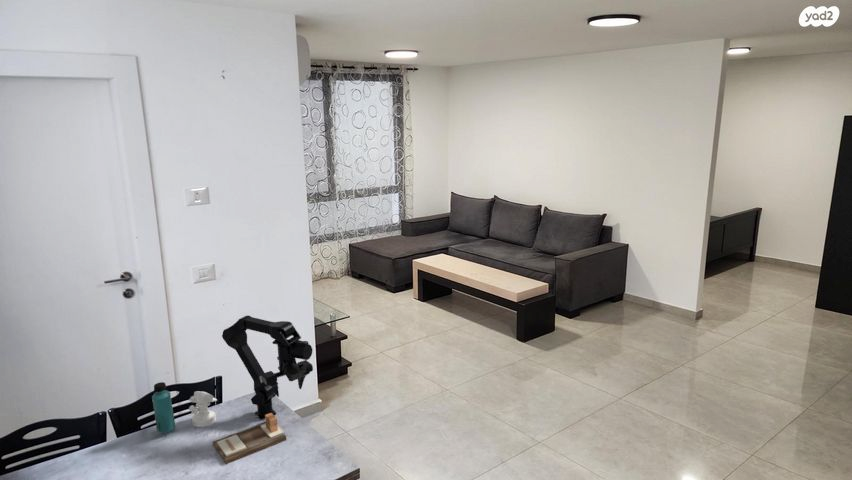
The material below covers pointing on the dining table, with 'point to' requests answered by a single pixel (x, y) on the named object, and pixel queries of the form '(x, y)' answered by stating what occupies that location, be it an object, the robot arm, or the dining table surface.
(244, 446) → the ticket board
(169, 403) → the beverage bottle
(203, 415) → the character figurine
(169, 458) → the dining table surface
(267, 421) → the stub
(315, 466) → the dining table surface
